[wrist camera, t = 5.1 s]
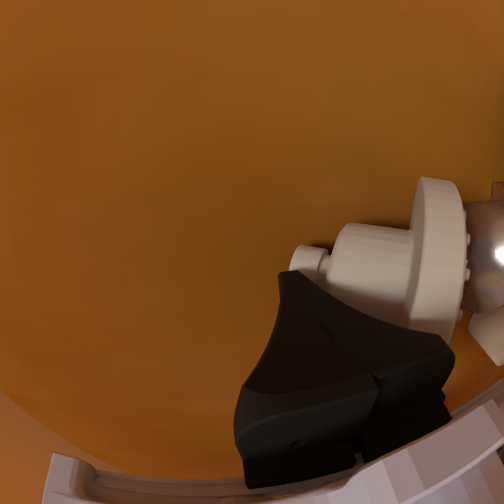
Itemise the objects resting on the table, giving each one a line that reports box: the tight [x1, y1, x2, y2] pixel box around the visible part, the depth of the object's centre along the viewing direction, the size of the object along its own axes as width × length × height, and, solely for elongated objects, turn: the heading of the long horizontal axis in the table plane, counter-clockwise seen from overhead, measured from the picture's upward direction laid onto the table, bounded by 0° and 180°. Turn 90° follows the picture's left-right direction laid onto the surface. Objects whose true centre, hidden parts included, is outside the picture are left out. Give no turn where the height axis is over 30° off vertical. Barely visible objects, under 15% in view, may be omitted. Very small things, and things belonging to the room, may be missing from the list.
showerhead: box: [289, 177, 470, 345], centre depth 11 cm, size 9×7×10 cm
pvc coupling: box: [468, 304, 504, 366], centre depth 16 cm, size 4×4×5 cm
